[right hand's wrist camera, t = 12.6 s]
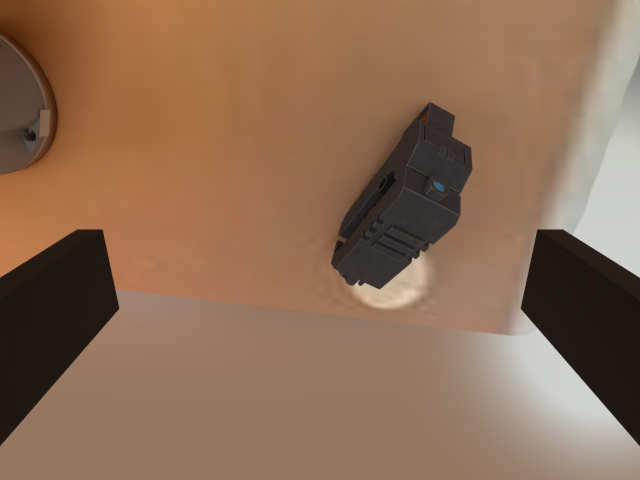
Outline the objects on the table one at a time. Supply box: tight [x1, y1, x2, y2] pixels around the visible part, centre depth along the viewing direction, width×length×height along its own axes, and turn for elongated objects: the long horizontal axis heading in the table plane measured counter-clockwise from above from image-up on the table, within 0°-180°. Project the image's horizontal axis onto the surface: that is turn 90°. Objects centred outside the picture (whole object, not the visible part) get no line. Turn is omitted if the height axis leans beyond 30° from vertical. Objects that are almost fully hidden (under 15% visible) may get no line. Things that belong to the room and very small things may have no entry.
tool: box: [331, 103, 472, 289], centre depth 42 cm, size 6×19×15 cm, turn 153°
